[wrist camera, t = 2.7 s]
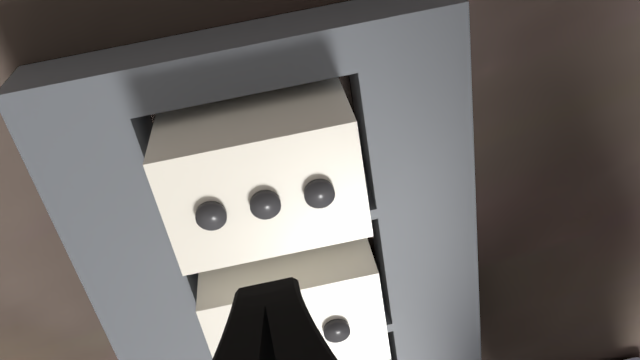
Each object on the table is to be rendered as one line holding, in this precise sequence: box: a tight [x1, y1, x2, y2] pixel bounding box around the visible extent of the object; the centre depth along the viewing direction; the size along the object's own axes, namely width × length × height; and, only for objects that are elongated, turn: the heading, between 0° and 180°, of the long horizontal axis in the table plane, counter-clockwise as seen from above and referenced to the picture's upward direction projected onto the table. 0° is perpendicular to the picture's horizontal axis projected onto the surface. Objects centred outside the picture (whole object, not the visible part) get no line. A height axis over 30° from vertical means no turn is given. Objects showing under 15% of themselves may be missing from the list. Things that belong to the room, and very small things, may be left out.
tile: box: [196, 238, 391, 360], centre depth 22 cm, size 4×6×4 cm, turn 99°
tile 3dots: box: [143, 77, 373, 276], centre depth 19 cm, size 4×6×4 cm, turn 99°
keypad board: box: [0, 0, 481, 360], centre depth 24 cm, size 19×14×2 cm
